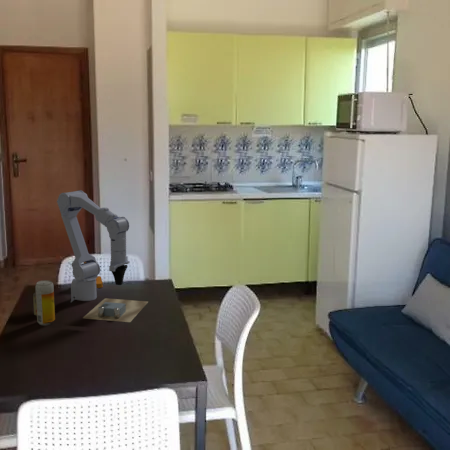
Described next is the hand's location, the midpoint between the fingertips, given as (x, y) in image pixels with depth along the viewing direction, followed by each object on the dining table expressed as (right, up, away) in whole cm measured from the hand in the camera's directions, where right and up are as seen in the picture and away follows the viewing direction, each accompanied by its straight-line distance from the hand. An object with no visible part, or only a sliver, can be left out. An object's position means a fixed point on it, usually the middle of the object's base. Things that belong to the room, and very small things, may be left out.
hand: (119, 284), depth 215 cm
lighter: (-27, -11, -3) cm, 30 cm away
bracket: (-17, -4, +30) cm, 34 cm away
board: (-1, -11, -1) cm, 11 cm away
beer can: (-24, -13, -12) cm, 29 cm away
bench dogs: (-2, -11, -9) cm, 14 cm away
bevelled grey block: (-1, -10, -5) cm, 11 cm away
